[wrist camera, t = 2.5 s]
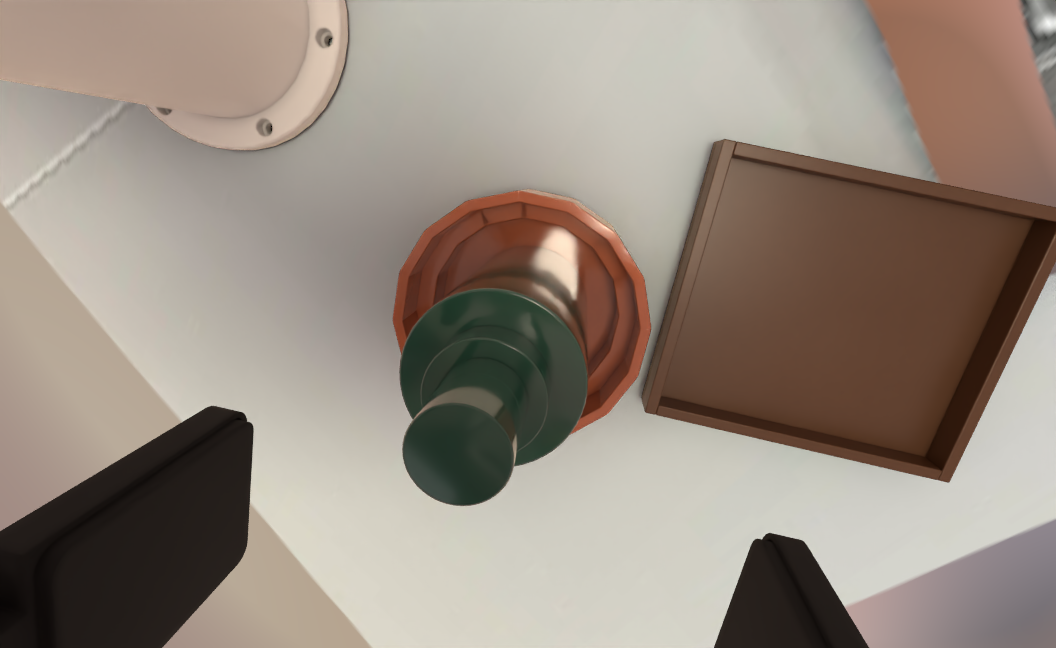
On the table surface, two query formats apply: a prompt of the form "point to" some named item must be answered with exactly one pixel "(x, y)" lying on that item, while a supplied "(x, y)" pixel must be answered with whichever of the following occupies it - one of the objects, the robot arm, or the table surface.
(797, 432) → the tray
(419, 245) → the bowl
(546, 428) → the bottle
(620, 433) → the table surface
